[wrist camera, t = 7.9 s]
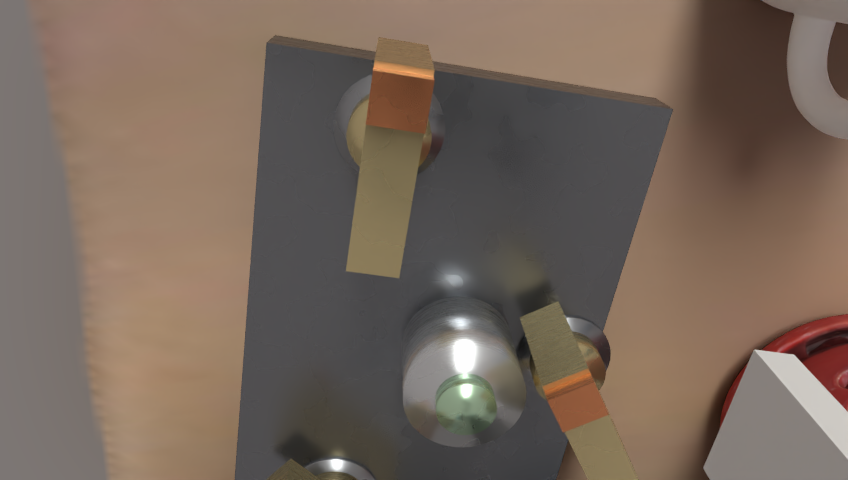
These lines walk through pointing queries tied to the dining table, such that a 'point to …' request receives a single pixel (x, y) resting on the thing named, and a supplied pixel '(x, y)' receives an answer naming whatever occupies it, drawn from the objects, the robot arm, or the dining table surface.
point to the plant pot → (814, 355)
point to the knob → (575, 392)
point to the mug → (815, 62)
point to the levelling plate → (430, 270)
